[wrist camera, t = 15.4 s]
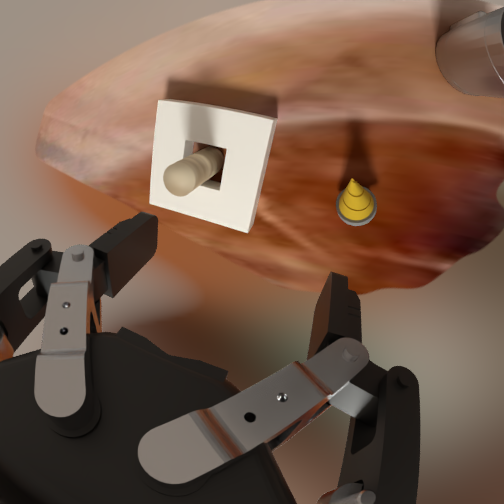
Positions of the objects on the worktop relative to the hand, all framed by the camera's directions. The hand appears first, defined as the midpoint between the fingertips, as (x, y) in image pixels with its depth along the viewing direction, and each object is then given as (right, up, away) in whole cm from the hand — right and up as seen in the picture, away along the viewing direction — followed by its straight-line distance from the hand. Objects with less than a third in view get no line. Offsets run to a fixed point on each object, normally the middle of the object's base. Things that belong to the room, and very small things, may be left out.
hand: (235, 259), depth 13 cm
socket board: (-5, +13, +27) cm, 31 cm away
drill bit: (+14, +8, +25) cm, 30 cm away
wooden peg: (-5, +13, +27) cm, 31 cm away
